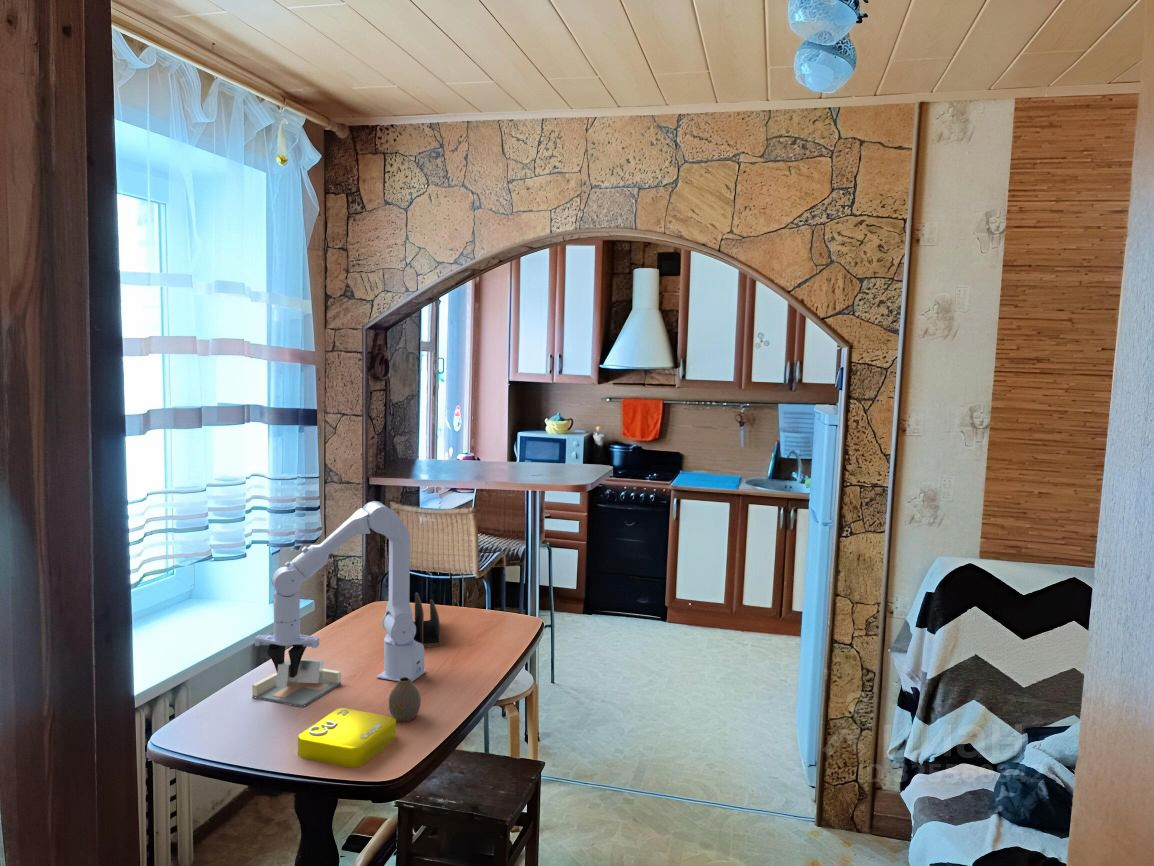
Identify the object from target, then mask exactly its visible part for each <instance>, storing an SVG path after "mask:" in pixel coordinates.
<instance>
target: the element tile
mask: <svg viewBox="0 0 1154 866" xmlns="http://www.w3.org/2000/svg"><path fill="white" fill-rule="evenodd" d="M395 738H397V720H396V719H395V718H394V717H393V716H392V715H391V716H390V715H384V714H379V713H373V712H368V711H363V710H358V709H353V708H347V707H339V708H336V709H334V710H333V711H331V712H330V713H328V714H326V715H325V716H324V717H322V718H321V719H320V720H318V721H316V722H315V723H313V724H312V725H310V726H309V727H307V728H306V729H304V730H302V731H301V732H300V733H299V734H298V736H297V755H298V757H299V756H300V757H299V758H301V757H302V758H301V759H306V758H307V759H306V760H310V759H311V760H310V761H316V762H321V763H324V764H330V765H333V766H339V767H344V768H347V769H349V768H350V769H357V768H360V767H363V766H364V765H366V764H367V763H368V762H369V761H371V760H372V759H373V758H374V757H375V756H377V755H378V754H379V753H381V752H382V751H383V750H384V749H385V748H386V747H387V746H389V745H390V744H391V743H393V742H394V741H395V740H394V739H395ZM393 740H394V741H393Z"/></svg>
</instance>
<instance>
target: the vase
mask: <svg viewBox="0 0 1154 866" xmlns="http://www.w3.org/2000/svg"><path fill="white" fill-rule="evenodd" d="M421 701H422V699H421V694H420V691H419V689H418V688H417V686H416V685H415V684H414V683H413V681H412V682H411V679H410V678H408V677H403V678H400V679H399V681H397V683H396V685H395V686H394V687H393V689H392V690H391V692H390V694H389V697H388V710H389V713H390V715H391V717H394V718H395V719H396V721H397V720H398V721H397V722H401V721H405V722H409V720H410V721H411V720H414V718H415V717H416V716H417V715H418V713H419V711H420V708H421V704H422V702H421Z"/></svg>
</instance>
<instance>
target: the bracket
mask: <svg viewBox="0 0 1154 866" xmlns="http://www.w3.org/2000/svg"><path fill="white" fill-rule="evenodd" d="M324 663H325V660H324V659H314V658H313V659H311V658H301V661H300V664H299V668H298V673H297V675H296V676H295V677H294V678H291V663H290V659H288V660H284V662H283V663H280V664H278V671H276V672H277V681H276V687H288V686H290V685H292V684H294V683H296V682H306V683H320V682H322V676H323V669H324Z"/></svg>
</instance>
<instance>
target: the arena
mask: <svg viewBox="0 0 1154 866" xmlns="http://www.w3.org/2000/svg"><path fill="white" fill-rule="evenodd" d="M276 681H277V671H276V672H274V673H272V674H270V675H268V676H266V677H265V678H263V679H261V680H259V681H257V682H254V684H252V689H251V690H252V698H253V697H256V698H255V699H257V698H261V699H260V700H262V699H265V700H264V701H267V700H270V701H269V702H272V701H276V702H275V703H277V702H280V703H279V704H282V703H286V704H285V705H288V704H291V705H290V706H293V705H296V706H295V707H298V706H301V707H300V708H304V707H305V706H304V705H306V704H307V705H309V704H310V703H309V702H311V701H312V702H314V701H315V699H316V698H317V699H319V698H321V697H322V696H323V694H324V695H325V694H327V693H329V692H330V691H332V690H333V689H335V688H337V687H338V686H340V685H341V684H342V673H341V671H339V670H334V669H330V668H329V669H327V668H323V676H322V682H320V683H306V682H296V683H294V684H292V685H290V686H288V687H276ZM334 687H335V688H334ZM331 689H332V690H331ZM328 691H329V692H328ZM326 692H327V693H326ZM321 695H322V696H321ZM318 697H319V698H318ZM317 699H316V700H317ZM313 700H314V701H313ZM312 702H311V703H312ZM308 703H309V704H308ZM307 705H306V706H307ZM303 706H304V707H303Z"/></svg>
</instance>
